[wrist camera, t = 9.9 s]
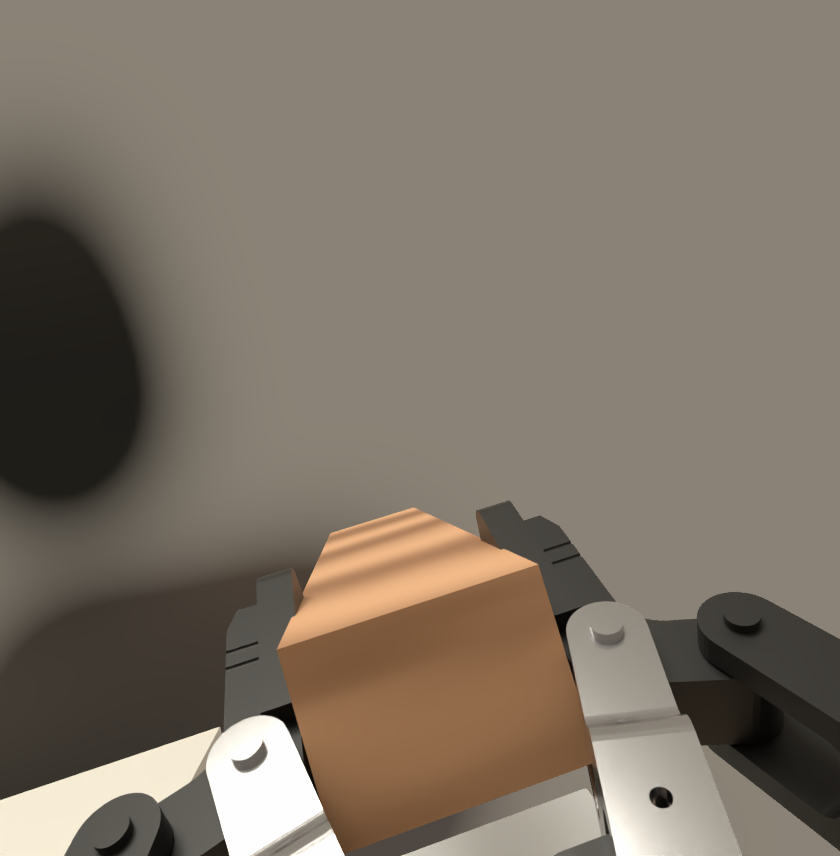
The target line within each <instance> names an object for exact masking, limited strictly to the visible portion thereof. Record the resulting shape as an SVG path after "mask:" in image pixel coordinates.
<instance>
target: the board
mask: <svg viewBox="0 0 840 856" xmlns="http://www.w3.org/2000/svg"><path fill="white" fill-rule="evenodd" d="M303 596H304V597H303V600H302V602H301V604H300V607H299V609H298V611H297V613H296V616H294V617H292V618H291V620H290V622H289V624H288V626H287V628H286V630H285V633H284V635H283V637H282V639H281V641H280V643H279V646H278V648H277V653H278V656H279V660H280V663H281V667H282V670H283V674H284V677H285V681H286V684H287V688H288V691H289V695H290V698H291V702H292V705H293V709H294V712H295V716H296V719H297V722H298V726H299V729H300V733H301V736H302V740H303V743H304V747H305V750H306V754H307V757H308V761H309V764H310V768H311V771H312V775H313V778H314V782H315V785H316V789H317V792H318V795H319V799H320V802H321V806H322V808H323V810H324V812H325V815H326V817H327V819H328V821H329V823H330V825H331V828H332V830H333V832H334V834H335V837H336V839H337V841H338V843H339V846H340V848H341V850H342V852H343V854H345V853H348V852H350V851H353V850H356V849H359V848H361V847H364V846H367V845H370V844H372V843H375V842H378V841H381V840H383V839H386V838H389V837H392V836H394V835H397V834H400V833H403V832H405V831H408V830H411V829H414V828H416V827H419V826H422V825H425V824H427V823H430V822H433V821H436V820H438V819H441V818H444V817H446V816H449V815H452V814H455V813H458V812H460V811H463V810H466V809H469V808H471V807H474V806H477V805H479V804H482V803H485V802H488V801H491V800H493V799H496V798H499V797H502V796H504V795H507V794H509V793H513V792H515V791H518V790H521V789H524V788H526V787H529V786H532V785H535V784H537V783H540V782H542V781H546V780H548V779H551V778H554V777H557V776H559V775H562V774H565V773H568V772H570V771H573V770H576V769H579V768H581V767H584V766H587V765H590V764H592V761H591V755H590V750H589V745H588V740H587V735H586V731H585V726H584V721H583V716H582V712H581V707H580V702H579V698H578V693H577V689H576V685H575V682H574V679H573V676H572V672H571V669H570V666H569V663H568V659H567V656H566V653H565V650H564V646H563V643H562V640H561V637H560V633H559V630H558V627H557V624H556V620H555V617H554V614H553V611H552V607H551V604H550V601H549V598H548V594H547V591H546V588H545V585H544V581H543V578H542V575H541V572H540V568H539V565H538V564H536V563H534V562H532V561H530V560H528V559H525V558H523V557H521V556H519V555H517V554H514V553H512V552H510V551H508V550H506V549H502V550H500V549H498V548H496V547H494V546H492V545H490V544H488V543H486V542H483V541H481V538H479V537H477V536H475V535H473V534H471V533H468V532H466V531H464V530H462V529H460V528H457V527H455V526H453V525H451V524H449V523H447V522H444V521H442V520H440V519H438V518H436V517H433V516H431V515H429V514H427V513H424V512H422V511H420V510H418V509H416V508H411V509H408V510H405V511H401V512H398V513H395V514H392V515H388V516H385V517H382V518H378V519H375V520H372V521H369V522H366V523H363V524H359V525H356V526H353V527H349V528H346V529H343V530H340V531H337V532H333V533H331V534H330V536H329V538H328V540H327V543H326V544H325V547H324V549H323V551H322V553H321V555H320V557H319V559H318V562H317V564H316V566H315V568H314V570H313V572H312V575H311V577H310V579H309V581H308V583H307V585H306V588H305V590H304V592H303Z"/></svg>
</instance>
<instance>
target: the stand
mask: <svg viewBox="0 0 840 856" xmlns="http://www.w3.org/2000/svg"><path fill="white" fill-rule="evenodd" d="M221 735H222V733H221V729H220V727H218V728H215V729H212V730H209V731H206V732H203V733H200V734H197V735H194V736H191V737H188V738H185V739H182V740H179V741H176V742H173V743H170V744H167V745H164V746H161V747H158V748H155V749H152V750H149V751H146V752H143V753H140V754H137V755H134V756H131V757H128V758H125V759H122V760H120V761H116V762H113V763H110V764H107V765H105V766H101V767H99V768H95V769H93V770H89V771H87V772H84V773H81V774H78V775H75V776H72V777H69V778H66V779H63V780H60V781H57V782H54V783H51V784H48V785H45V786H42V787H39V788H36V789H33V790H30V791H27V792H24V793H21V794H18V795H15V796H12V797H9V798H6V799H3V800H0V856H64V855H65V853H66V851H67V849H68V847H69V846H70V844H71V842H72V840H73V838H74V836H75V835H76V833H77V831H78V830H79V828H80V827H81V826H82V824H83V823H84V822H85V821H86V820H87V819H88V818H89V817H90V815H91V814H93V813H94V812H95V811H96V810H97V809H98V808H100V807H101V806H103V805H104V804H105V803H107V802H109V801H111V800H112V799H114V798H117V797H119V796H122V795H125V794H129V793H144V794H148V795H149V796H151V797H153V798H154V799H155V800H156V801H157V803H159V802H160V801H162V800H163V799H165V798H167V797H168V796H170V795H171V794H173V793H174V792H176V791H177V790H179V789H180V788H182V787H184V786H185V785H187V784H188V783H190V782H191V781H192V780H194V779H195V778H196V777H197V776H198V775H200V774H201V773H202V772H203V771H204V770H205V769H206V762H207V758H208V755H209V752H210V750H211V748H212V747H213V745H214V743H215V742H216V741H217V739H218V738H219V737H220V736H221Z"/></svg>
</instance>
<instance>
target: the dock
mask: <svg viewBox="0 0 840 856" xmlns="http://www.w3.org/2000/svg"><path fill="white" fill-rule="evenodd" d="M598 837H601V832H600V827H599V822H598V817H597V812H596V807H595V802H594V798H593V797H592V795H591V794H590V793H589V792H588V790H587V789H586V788H585V789H582V790H579V791H576V792H574V793H571V794H568V795H566V796H563V797H560V798H558V799H555V800H552V801H549V802H547V803H544V804H541V805H538V806H536V807H533V808H531V809H528V810H525V811H522V812H520V813H517V814H514V815H511V816H509V817H506V818H503V819H500V820H498V821H495V822H492V823H489V824H487V825H484V826H482V827H479V828H476V829H473V830H470V831H468V832H465V833H463V834H460V835H457V836H454V837H452V838H449V839H446V840H443V841H441V842H438V843H435V844H432V845H430V846H427V847H424V848H422V849H419V850H416V851H413V852H411V853H408V854H405V855H402V856H554V855H556V854H557V853H558V852H561V851H564V850H566V849H569V848H572V847H574V846H577V845H580V844H582V843H585V842H588V841H590V840H593V839H596V838H598Z"/></svg>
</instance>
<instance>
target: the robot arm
mask: <svg viewBox="0 0 840 856" xmlns="http://www.w3.org/2000/svg"><path fill="white" fill-rule="evenodd" d="M476 518H477V523H478V528H479V533H480V538H481V541H483V542H486V543H488V544H490V545H492V546H494V547H496V548H498V549H500V550H502V549H506V550H508V551H510V552H512V553H514V554H517V555H519V556H521V557H523V558H525V559H528V560H530V561H532V562H534V563H536V564H538V565H539V568H540V572H541V575H542V578H543V581H544V585H545V588H546V591H547V594H548V598H549V601H550V604H551V607H552V611H553V614H554V617H555V620H556V624H557V627H558V630H559V633H560V637H561V640H562V643H563V646H564V650H565V653H566V656H567V659H568V663H569V666H570V669H571V672H572V676H573V679H574V682H575V685H576V689H577V693H578V698H579V702H580V707H581V712H582V716H583V721H584V726H585V731H586V735H587V740H588V745H589V750H590V755H591V761H592V764H590V765H587V768H588V773H589V778H590V783H591V788H592V793H593V797H594V802H595V807H596V812H597V817H598V822H599V827H600V832H601V837H598V838H596V839H593V840H590V841H588V842H585V843H582V844H580V845H577V846H574V847H572V848H569V849H566V850H564V851H561V852H558V853H557V854H556V855H554V856H742V854H741V852H740V849H739V846H738V843H737V841H736V838H735V835H734V833H733V830H732V827H731V825H730V822H729V819H728V817H727V814H726V811H725V809H724V806H723V803H722V801H721V798H720V795H719V793H718V790H717V787H716V785H715V782H714V779H713V777H712V774H711V771H710V769H709V766H708V764H707V761H706V758H705V755H704V753H703V750H702V748H701V745H708V747H709V748H710V749H711V750H712V751H713V752H715V753H716V754H717V755H718V756H720V757H721V758H722V759H723V760H725V761H726V762H727V763H728V764H730V765H731V766H732V767H734V768H735V769H736V770H737V771H739V772H740V773H741V774H742V775H744V776H745V777H746V778H748V779H749V780H750V781H751V782H753V783H754V784H755V785H756V786H758V787H759V788H760V789H762V790H763V791H764V792H765V793H767V794H768V795H769V796H771V797H772V798H773V799H775V800H776V801H777V802H778V803H780V804H781V805H782V806H783V807H784V808H786V809H787V810H788V811H790V812H791V813H792V814H794V815H795V816H796V817H797V818H798V819H800V820H801V821H802V822H804V823H805V824H806V825H808V826H809V827H810V828H811V829H813V830H814V831H815V832H816V833H818V834H819V835H820V836H821V837H823V838H824V839H825V840H827V841H828V842H829V843H830V844H832V845H833V846H834V847H835V848H837V849H838V850H839V851H840V639H838V638H836V637H835V636H833V635H831V634H829V633H827V632H825V631H823V630H822V629H820V628H818V627H816V626H814V625H813V624H811V623H809V622H807V621H805V620H803V619H801V618H800V617H798V616H796V615H794V614H792V613H790V612H788V611H787V610H785V609H783V608H781V607H779V606H777V605H775V604H774V603H772V602H770V601H768V600H766V599H764V598H762V597H759V596H756V595H753V594H748V593H741V592H729V593H723V594H718V595H715V596H713V597H711V598H709V599H708V600H706V601H705V602H704V603H703V604H702V605H701V607H700V608H699V610H698V613H697V619H687V620H671V621H657V620H649V619H645V618H643V616H642V615H641V614H640V613H639V612H638V611H636V610H635V609H633V608H632V607H630V606H627V605H625V604H622V603H618V602H616V601H615V600H614V599H613V598H612V596H611V595H610V593H609V592H608V591H607V589H606V588H605V587H604V585H603V584H602V583H601V581H600V580H599V579H598V577H597V576H596V575H595V573H594V572H593V571H592V569H591V568H590V567H589V565H588V564H587V563H586V561H585V560H584V559H583V558H582V557H581V556H580V553H579V552H578V551H577V549H576V548H575V547H574V545H573V544H571V542H570V540H569V539H568V537H567V536H566V534H565V533H564V532H563V530H562V529H561V528H560V527H559V526H558V525H556V524H554V523H553V522H551V521H549V520H547V519H545V518H543V517H542V516H537V517H534V518H531V519H528V520H525V521H523V519H522V518H521V516H520V515H519V513H518V512H517V510H516V509H515V507H514V506H513V504H512V503H511V502H510V501H506V502H503V503H499V504H496V505H493V506H490V507H486V508H483V509H480V510H477V511H476ZM303 597H304V596H303V593H302V590H301V588H300V585H299V583H298V580H297V577H296V574H295V572H294V570H293V568H289V569H286V570H283V571H280V572H276V573H273V574H270V575H267V576H264V577H261V578H258V579H257V605H254V606H251V607H248V608H244V609H241V610H239V611H237V613H236V615H235V617H234V619H233V621H232V623H231V624H230V627H229V628H228V631H227V645H226V652H227V655H226V670H227V672H226V677H225V710H224V733H223V734H222V735H221V736H220V737H219V738H218V739H217V741H216V742H215V743H214V745H213V747H212V748H211V750H210V752H209V755H208V758H207V762H206V769H205V770H204V771H203V772H202V773H201V774H200V775H198V776H197V777H196V778H195V779H194V780H192V781H191V782H190V783H188V784H187V785H185V786H184V787H182V788H180V789H179V790H177V791H176V792H174V793H173V794H171V795H170V796H168V797H167V798H165V799H163V800H162V801H160V802H159V803H157V801H156V800H155V799H154V798H153V797H151V796H149V795H148V794H144V793H129V794H125V795H122V796H119V797H117V798H114V799H112V800H111V801H109V802H107V803H105V804H104V805H103V806H101V807H100V808H98V809H97V810H96V811H95V812H94V813H93V814H91V815H90V817H89V818H88V819H87V820H86V821H85V822H84V823H83V824H82V826H81V827H80V828H79V830H78V831H77V833H76V835H75V836H74V838H73V840H72V842H71V844H70V846H69V847H68V849H67V851H66V853H65V855H64V856H344V855H343V852H342V850H341V848H340V846H339V843H338V841H337V839H336V837H335V834H334V832H333V830H332V828H331V825H330V823H329V821H328V819H327V817H326V815H325V812H324V810H323V808H322V806H321V802H320V799H319V795H318V792H317V789H316V785H315V782H314V778H313V775H312V771H311V768H310V764H309V761H308V757H307V754H306V750H305V747H304V743H303V740H302V736H301V733H300V729H299V726H298V722H297V719H296V716H295V712H294V709H293V705H292V702H291V698H290V695H289V691H288V688H287V684H286V681H285V677H284V674H283V670H282V667H281V663H280V660H279V656H278V653H277V648H278V646H279V643H280V641H281V639H282V637H283V635H284V633H285V630H286V628H287V626H288V624H289V622H290V620H291V618H292V617H294V616H296V613H297V611H298V609H299V607H300V604H301V602H302V600H303Z"/></svg>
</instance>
